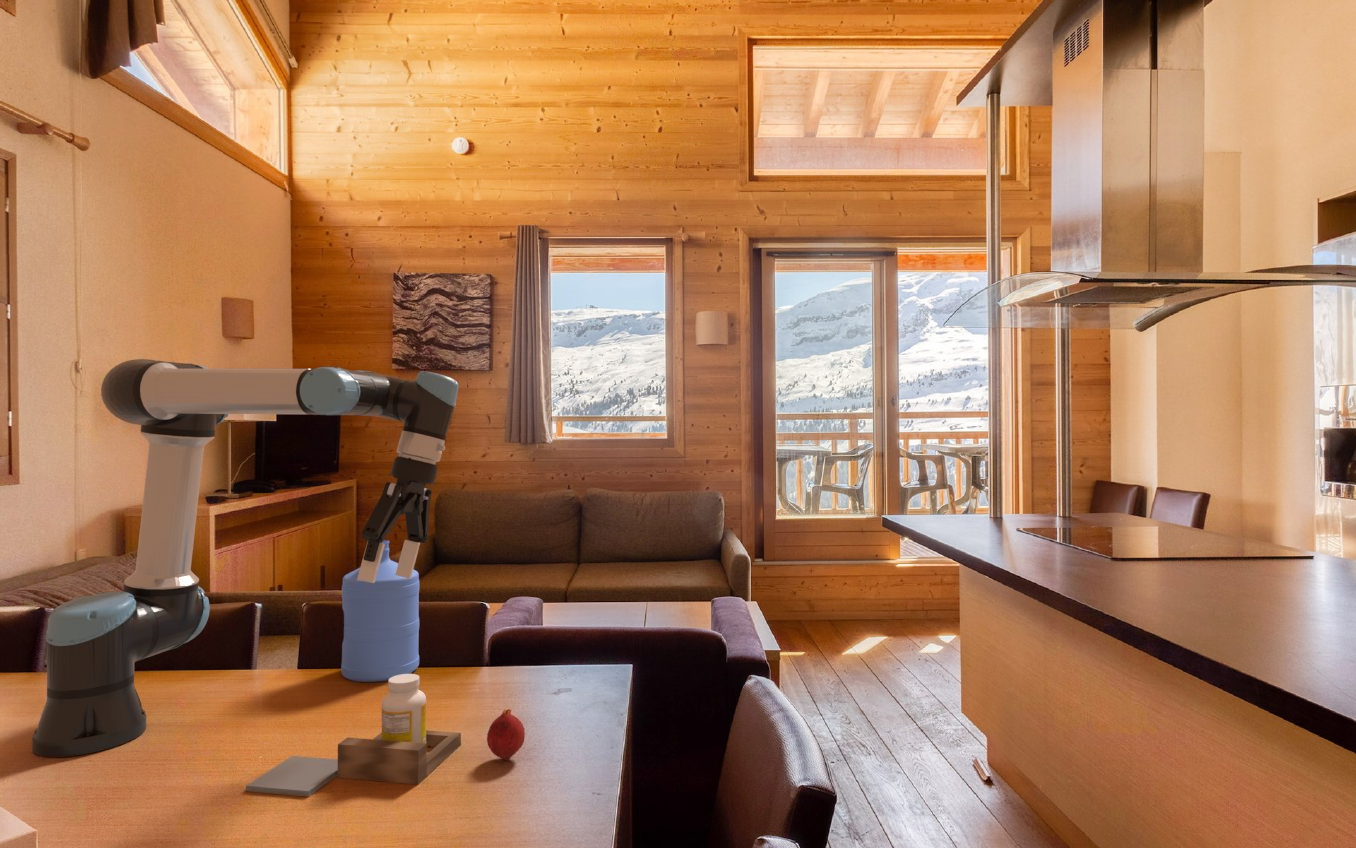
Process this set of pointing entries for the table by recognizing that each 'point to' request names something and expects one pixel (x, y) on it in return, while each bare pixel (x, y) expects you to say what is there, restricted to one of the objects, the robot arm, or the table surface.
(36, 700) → the table surface
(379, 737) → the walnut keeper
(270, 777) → the slate coaster
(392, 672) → the water jug
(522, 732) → the onion
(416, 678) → the supplement bottle
